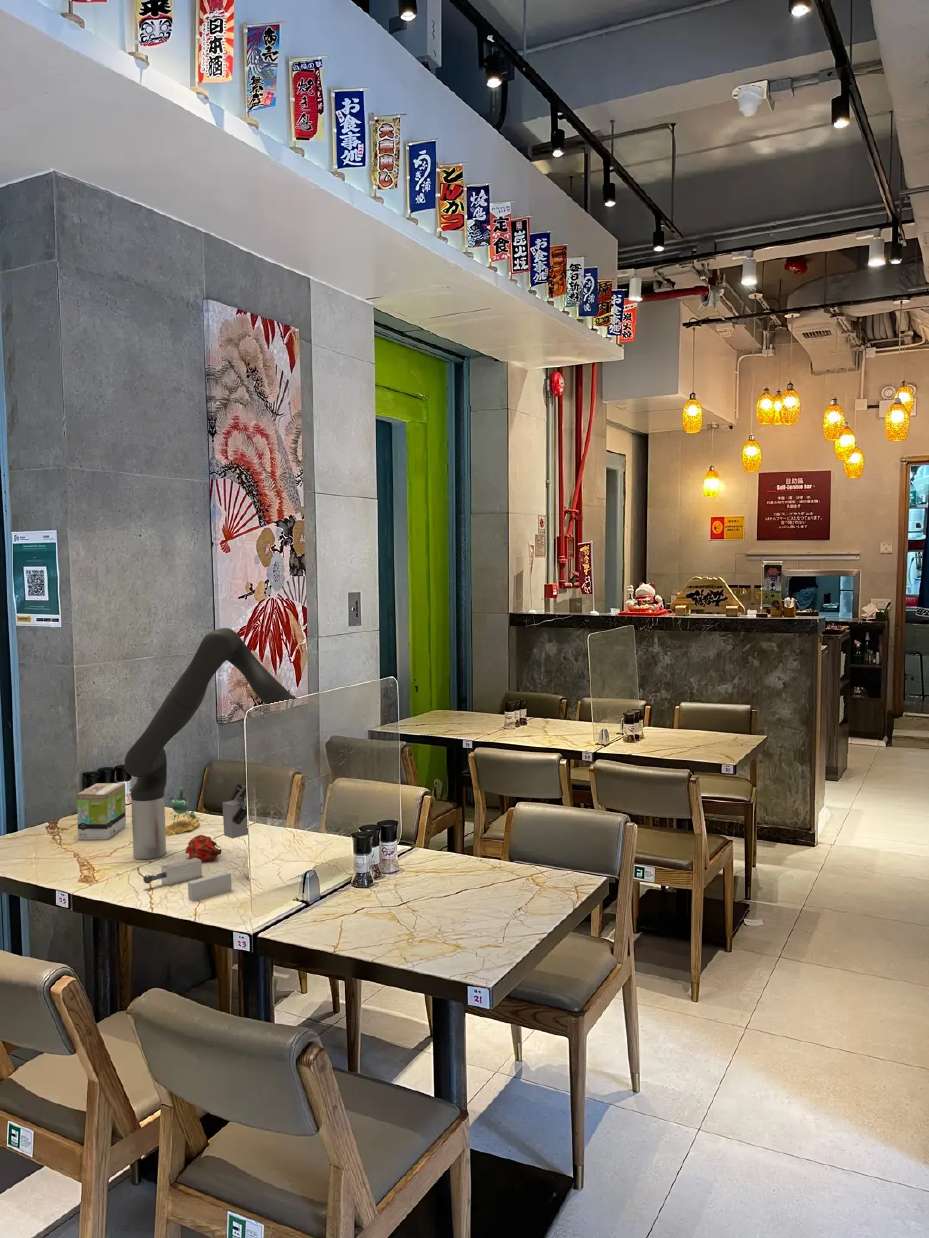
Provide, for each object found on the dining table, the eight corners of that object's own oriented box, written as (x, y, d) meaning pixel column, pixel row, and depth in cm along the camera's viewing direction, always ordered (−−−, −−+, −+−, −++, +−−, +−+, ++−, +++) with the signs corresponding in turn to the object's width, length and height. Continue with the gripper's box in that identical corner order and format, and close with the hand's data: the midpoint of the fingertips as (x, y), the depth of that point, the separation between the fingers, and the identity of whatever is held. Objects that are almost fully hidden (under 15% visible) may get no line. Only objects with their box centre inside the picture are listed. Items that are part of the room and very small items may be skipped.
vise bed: (153, 884, 252) (152, 863, 252) (191, 874, 260) (190, 854, 259) (192, 905, 236) (191, 883, 236) (231, 894, 244) (230, 873, 243)
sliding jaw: (141, 888, 246) (140, 871, 246) (196, 873, 256) (196, 857, 256) (146, 890, 244) (145, 873, 243) (201, 876, 254) (201, 860, 254)
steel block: (224, 835, 255) (222, 802, 254) (243, 830, 259) (242, 798, 258) (232, 838, 251) (230, 805, 251) (252, 833, 255) (250, 800, 255)
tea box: (109, 840, 293) (107, 793, 292) (77, 840, 293) (75, 793, 292) (127, 826, 308) (125, 781, 307) (96, 826, 308) (94, 782, 307)
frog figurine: (214, 823, 310) (210, 780, 308) (175, 844, 295) (170, 799, 292) (192, 819, 315) (188, 777, 312) (152, 840, 299) (147, 795, 296)
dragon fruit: (192, 862, 275) (216, 876, 268) (172, 852, 269) (197, 866, 262) (208, 836, 278) (232, 849, 270) (189, 825, 272) (213, 839, 264)
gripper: (245, 757, 264) (208, 808, 257) (273, 764, 254) (235, 818, 246) (262, 772, 268) (226, 823, 261) (290, 780, 258) (254, 833, 250)
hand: (231, 820), depth 253 cm, fingers closed on steel block, 4 cm apart
